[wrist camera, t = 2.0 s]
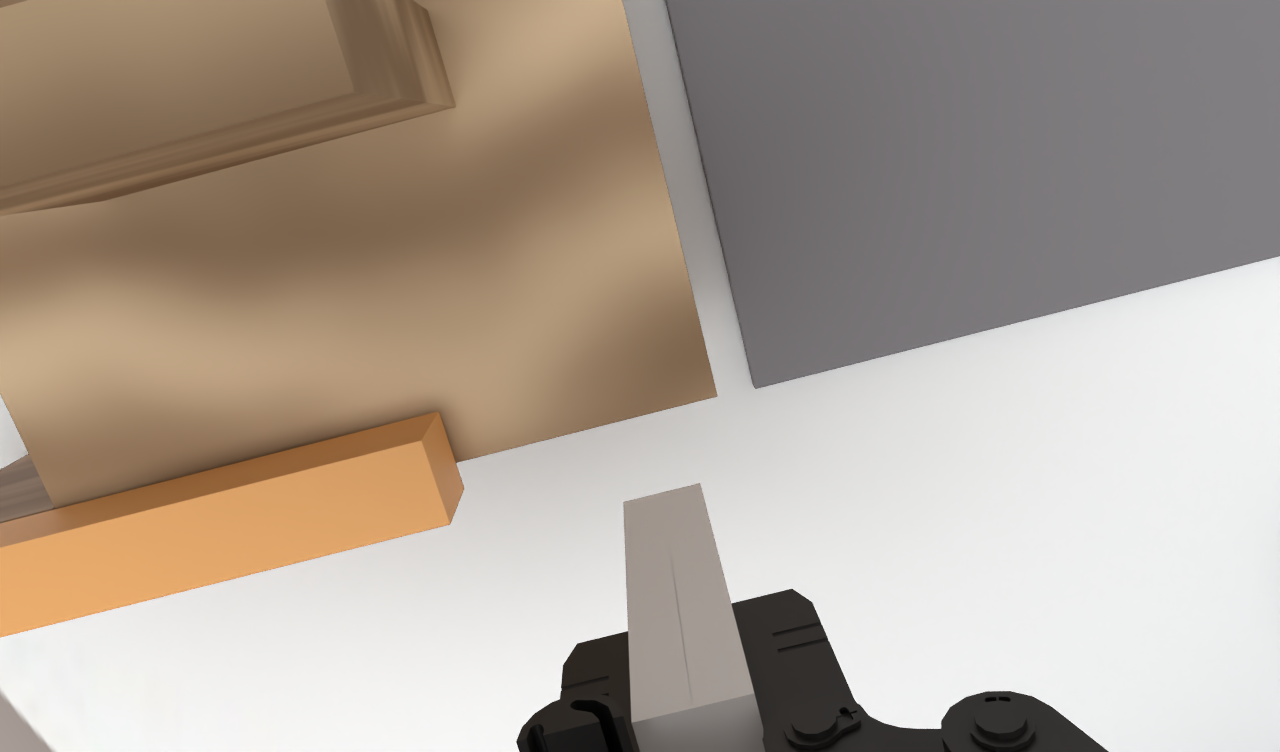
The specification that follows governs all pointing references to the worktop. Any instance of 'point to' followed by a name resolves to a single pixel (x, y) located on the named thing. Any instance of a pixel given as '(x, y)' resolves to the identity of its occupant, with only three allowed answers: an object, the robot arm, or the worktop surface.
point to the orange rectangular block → (227, 523)
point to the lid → (327, 230)
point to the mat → (973, 160)
